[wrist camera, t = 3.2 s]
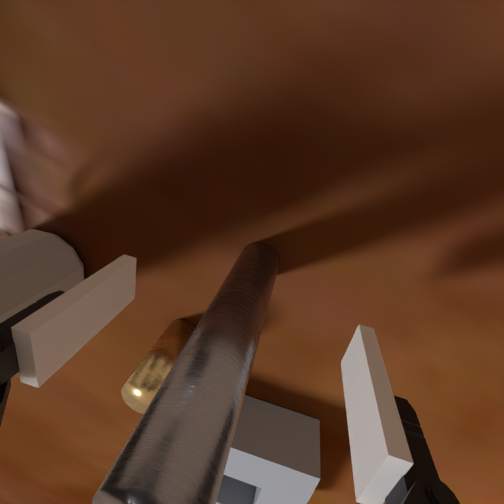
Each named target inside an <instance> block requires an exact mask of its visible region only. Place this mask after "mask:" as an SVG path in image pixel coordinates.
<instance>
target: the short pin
mask: <svg viewBox="0 0 504 504" xmlns="http://www.w3.org/2000/svg"><path fill="white" fill-rule="evenodd" d="M195 328H196V326H195V325H194V324H193V323H191V322H189V321H187V320H184V319H177V320H174V321H172V322H171V323H170V325H169V326H168V327H167V329H166V330H165V331H164V333H163V334H162V335H161V337H160V338H159V339H158V341H157V342H156V343H155V345H154V346H153V347H152V349H151V350H150V351H149V353H148V354H147V355H146V357H145V358H144V359H143V361H142V362H141V363H140V365H139V366H138V367H137V369H136V370H135V371H134V373H133V374H132V375H131V377H130V378H129V379H128V381H127V382H126V383H125V385H124V386H123V388H122V391H121V393H122V397H123V399H124V401H125V402H126V404H127V405H128V406H129V407H131V408H132V409H133V410H135V411H137V412H139V413H142V414H144V413H145V411H146V409H147V408H148V406H149V405H150V403H151V401H152V400H153V398H154V396H155V395H156V393H157V391H158V390H159V388H160V386H161V385H162V383H163V381H164V380H165V378H166V376H167V375H168V373H169V371H170V370H171V368H172V366H173V365H174V363H175V362H176V360H177V358H178V357H179V355H180V353H181V352H182V350H183V348H184V347H185V345H186V343H187V342H188V340H189V338H190V337H191V335H192V333H193V332H194V330H195Z"/></svg>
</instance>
